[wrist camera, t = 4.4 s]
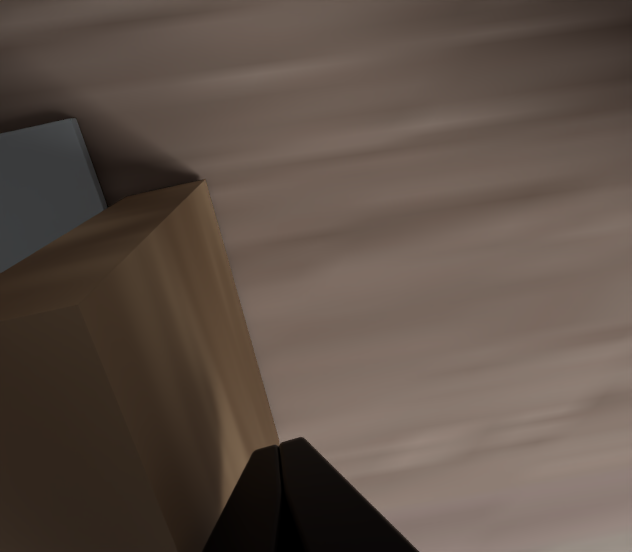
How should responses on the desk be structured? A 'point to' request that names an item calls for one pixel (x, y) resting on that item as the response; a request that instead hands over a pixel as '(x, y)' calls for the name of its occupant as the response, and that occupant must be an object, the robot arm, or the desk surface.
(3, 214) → the mat
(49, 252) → the tile
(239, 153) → the desk surface
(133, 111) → the desk surface
